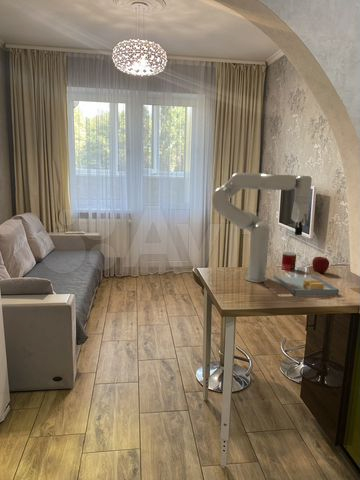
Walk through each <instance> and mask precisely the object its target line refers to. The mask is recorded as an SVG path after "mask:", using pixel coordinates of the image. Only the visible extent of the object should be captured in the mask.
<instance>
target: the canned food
mask: <svg viewBox="0 0 360 480" xmlns="http://www.w3.org/2000/svg"><path fill="white" fill-rule="evenodd" d="M281 258H282V260H281V271H289V272H292V271H293V272H294V271H296V262H297V261H296V260H297V253H296V252H292V251H283V252H282V257H281Z"/></svg>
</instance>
